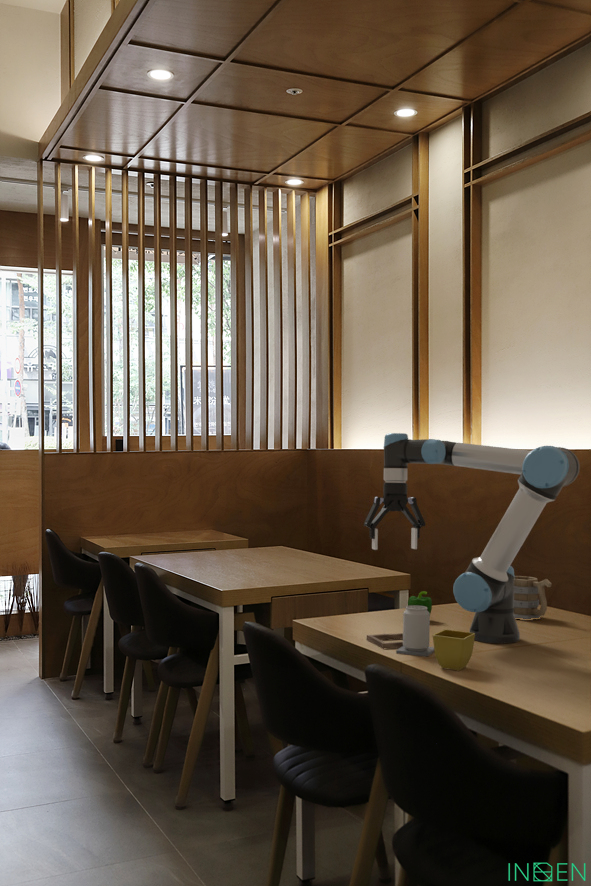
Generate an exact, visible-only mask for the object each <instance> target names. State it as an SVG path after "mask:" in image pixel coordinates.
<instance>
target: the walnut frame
mask: <svg viewBox="0 0 591 886" xmlns="http://www.w3.org/2000/svg"><path fill="white" fill-rule="evenodd" d="M386 639H392V640H403V632H400V633H396V632H395V633H382V634H380V633H379V634H366V641H368V642H370V643H371V644H373V645H375V646H377V647H379V648H380V649H382V648H383V649H384V648H387V649H399V648H400V647H402V646H403V641H389V642H387V640H386ZM385 641H386V642H385ZM383 649H382V650H383Z"/></svg>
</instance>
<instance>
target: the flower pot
mask: <svg viewBox="0 0 591 886" xmlns="http://www.w3.org/2000/svg"><path fill="white" fill-rule="evenodd" d="M474 638H475V633H470V631H467V632H466V631H461V630H455V629H454V630H453V629H443V630H440V631H439V632H436V633H433V635H432V642H433V647H434V652H433V653H434V656H435V658H436V661H437V663H438V664H439V666H440V668H442V669H444V668H445V670H447V669H448V670H453V671H457V670H458V672H459V671H461V670H463V669H464V668H466V667H467V665H468V664H469V662H470V661H471V659H472V656H473V655H472V654H473V651H474V646H475V644H474V643H475V640H474Z"/></svg>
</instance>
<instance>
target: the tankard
mask: <svg viewBox="0 0 591 886" xmlns="http://www.w3.org/2000/svg"><path fill="white" fill-rule="evenodd" d="M514 576H515V579H514V617H515V618H523V619H531V618H539V617H540V616H541V617H543V616H545V614H546V612H547V609H548V602H547V598H546V591H545V589H546V588H545V587H547V588H551V587H552V585H553V584H552V582H551V581H550V580H549V579H548V578H545V579H543V580H541V581H538V578H537V577H533V576H526V575H523V576H522V575H514ZM539 607H540V608H539ZM538 608H539V609H538Z"/></svg>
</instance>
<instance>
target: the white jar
mask: <svg viewBox="0 0 591 886" xmlns="http://www.w3.org/2000/svg"><path fill="white" fill-rule="evenodd" d="M427 609H428V608H427V607H425V606H415V605H413V606H408V605H407V606H405V610H404V611H403V614H402V615H403V617H402V618H403V619H402V621H403V622H402V625H403V626H402V633H403V639H402V642H403V646H404V647H405V648H406V649H407V650H411V651H424V650H426V649H427V648H428V647H430V629H431V628H430V627H431V626H430V625H431V624H430V622H431V621H430V617H431V614H430V613H429V612H428V611H427Z"/></svg>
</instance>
